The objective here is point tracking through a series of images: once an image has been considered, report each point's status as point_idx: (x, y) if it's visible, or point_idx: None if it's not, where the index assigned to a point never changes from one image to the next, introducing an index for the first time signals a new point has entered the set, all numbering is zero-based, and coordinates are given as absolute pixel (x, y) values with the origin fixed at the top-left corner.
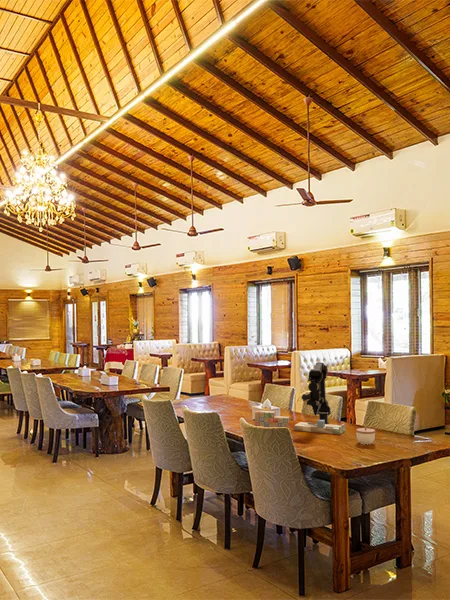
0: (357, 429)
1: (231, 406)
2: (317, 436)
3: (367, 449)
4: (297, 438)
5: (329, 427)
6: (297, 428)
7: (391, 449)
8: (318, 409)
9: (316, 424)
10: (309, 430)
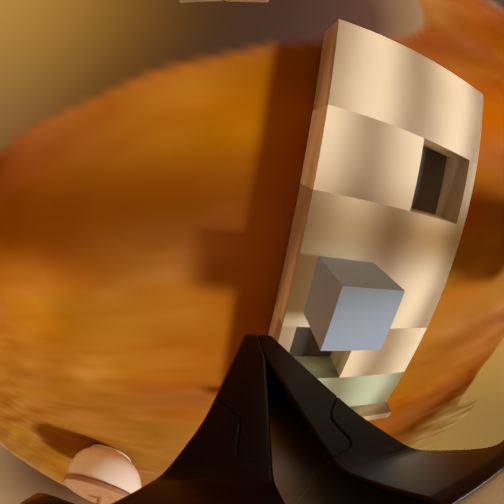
0: (82, 484)
1: None
2: (122, 270)
3: (39, 440)
4: (14, 142)
5: None
6: (325, 57)
7: None
8: (276, 467)
9: (427, 233)
10: (304, 173)
